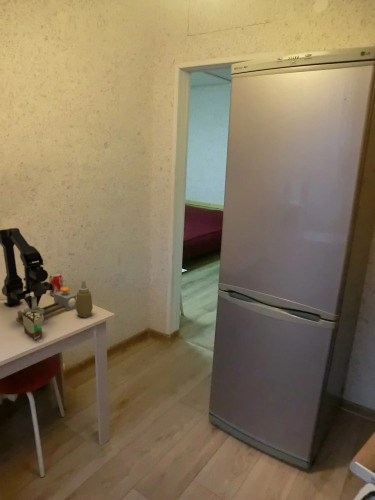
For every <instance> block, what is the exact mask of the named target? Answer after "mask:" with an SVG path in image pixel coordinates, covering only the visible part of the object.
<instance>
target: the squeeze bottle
mask: <svg viewBox="0 0 375 500" xmlns="http://www.w3.org/2000/svg"><path fill="white" fill-rule="evenodd" d="M89 288H90V287H89V286H87V284H86V281H85V280H82V282H81V286H80V287H79V288H78V292H77V293H76V308H75V311H76V313H77V315H78V317H80V318H87V317H90V316H91V314H92V312H93V307H94V305H93V300H92V298H93V297H92V293H91V291H90V289H89Z"/></svg>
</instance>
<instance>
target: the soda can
mask: <svg viewBox="0 0 375 500" xmlns="http://www.w3.org/2000/svg"><path fill="white" fill-rule="evenodd" d="M48 277H49V278H48V282H49V283H52V284H53V289H52V290H49V294H50V295H51V296H52V297H54V293H57V292H60V288H62V287H64V281H63V278H64V277H63V276H62V273H60V272H53V273H51V274H49V276H48Z"/></svg>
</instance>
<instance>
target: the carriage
mask: <svg viewBox="0 0 375 500" xmlns="http://www.w3.org/2000/svg"><path fill="white" fill-rule="evenodd" d="M31 304H32V308H31V309H30V308H29V307H27V308H25V309H23V311H30V310H34V311H39V312H41V313H42V314H43V313H44V309H42V308H43V307H40V306H37V297H34V296H32V298H31Z"/></svg>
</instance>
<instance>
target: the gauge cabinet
mask: <svg viewBox="0 0 375 500" xmlns="http://www.w3.org/2000/svg"><path fill="white" fill-rule="evenodd" d="M76 300H77V294H74V293H72V292H70V291H68V292H67V295H63V292H61V291H60V292H57V293H54V296H53V301H54V302H53V304H54V303H56V302H57V303H58V305H60V306H62V305H64V308H66V311H65V312H69V311H71V310H73V309H76Z"/></svg>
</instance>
